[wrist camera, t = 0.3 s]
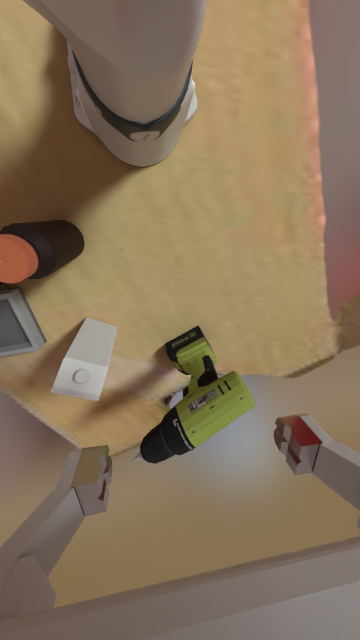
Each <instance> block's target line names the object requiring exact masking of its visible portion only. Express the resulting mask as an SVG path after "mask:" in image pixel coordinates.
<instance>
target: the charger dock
mask: <svg viewBox="0 0 360 640" xmlns="http://www.w3.org/2000/svg"><path fill="white" fill-rule="evenodd" d="M45 343H46V339H45V337H44V335H43V333H42V331H41V329H40V327H39V325H38V323H37V321H36V318H35V316H34V314H33V312H32V310H31V308H30V306H29V304H28V302H27V300H26V298H25V296H24V294H23V292H22V290H21V288H20V287H19V288H12V289H5V290H0V357H3V356H8V355H14V354H20V353H26V352H31V351H37V350H40V349H41V348H42V347H43V345H44V344H45Z"/></svg>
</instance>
